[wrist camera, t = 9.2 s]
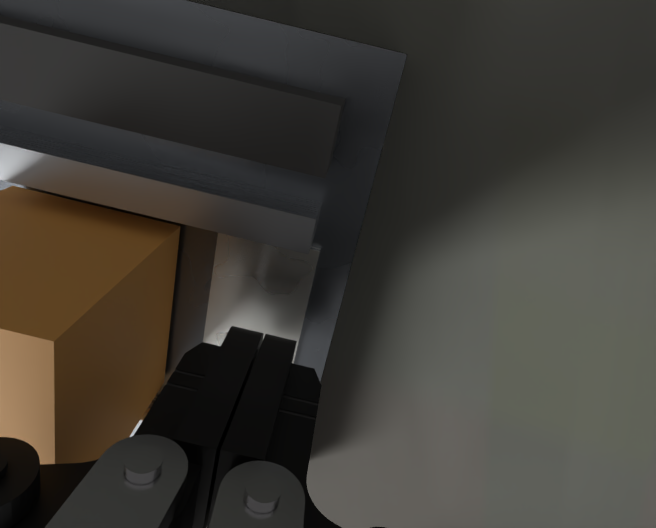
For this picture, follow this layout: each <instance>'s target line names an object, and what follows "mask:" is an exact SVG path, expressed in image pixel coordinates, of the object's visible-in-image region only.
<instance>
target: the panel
mask: <svg viewBox="0 0 656 528" xmlns="http://www.w3.org/2000/svg"><path fill="white" fill-rule="evenodd" d="M0 15H2V16H7V17H11V18H15V19H19V20H23V21H27V22H31V23H35V24H39V25H44V26H48V27H52V28H56V29H60V30H64V31H68V32H72V33H76V34H81V35H85V36H89V37H93V38H97V39H101V40H105V41H109V42H113V43H118V44H122V45H126V46H130V47H134V48H138V49H142V50H146V51H150V52H155V53H159V54H163V55H167V56H171V57H175V58H179V59H183V60H187V61H192V62H196V63H200V64H204V65H208V66H212V67H216V68H220V69H224V70H229V71H233V72H237V73H241V74H245V75H249V76H253V77H257V78H261V79H266V80H270V81H274V82H278V83H282V84H286V85H290V86H294V87H299V88H303V89H307V90H311V91H315V92H319V93H323V94H327V95H331V96H336V97H340V98H344V99H345V104H344V108H343V113H342V117H341V121H340V126H339V130H338V135H337V139H336V144H335V148H334V152H333V157H332V161H331V165H330V168H329V170H328V173H327V175H326V177H325V178H321V177H317V176H313V175H308V174H304V173H300V172H296V171H292V170H288V169H284V168H280V167H275V166H271V165H267V164H263V163H259V162H255V161H251V160H247V159H242V158H238V157H234V156H230V155H226V154H222V153H218V152H214V151H209V150H205V149H201V148H197V147H193V146H189V145H185V144H181V143H176V142H172V141H168V140H164V139H160V138H156V137H152V136H148V135H143V134H139V133H135V132H131V131H127V130H123V129H119V128H115V127H110V126H106V125H102V124H98V123H94V122H90V121H86V120H82V119H77V118H73V117H69V116H65V115H61V114H57V113H53V112H49V111H44V110H40V109H36V108H32V107H28V106H24V105H20V104H16V103H11V102H7V101H3V100H0V191H1V190H3V189H6V188H9V187H11V186H16V187H21V188H25V189H29V190H33V191H37V192H41V193H45V194H50V195H54V196H58V197H62V198H66V199H70V200H74V201H79V202H83V203H87V204H91V205H95V206H99V207H103V208H108V209H112V210H116V211H120V212H124V213H128V214H132V215H136V216H141V217H145V218H149V219H153V220H157V221H161V222H165V223H170V224H174V225H178V226H180V236H179V245H178V255H177V264H176V274H175V283H174V293H173V302H172V312H171V321H170V331H169V340H168V350H167V359H166V369H165V378H164V383H163V385H162V386H161V388H160V389H159V391H158V393H157V394H156V396H155V397H154V399H153V400H152V402H151V404H150V405H149V407H148V408H147V410H146V411H145V413H144V415H143V416H142V418H141V419H140V421H139V422H138V424H137V426H136V427H135V429H134V430H133V432H132V433H131V435H130V437H132V436H134V434H135V432H136V431H137V429H138V428H139V426H140V424H141V423H142V421H143V420H144V418H145V416H146V415H147V413H148V412H149V410H150V408H151V407H152V405H153V404H154V402H155V400H156V399H157V397H158V396H159V394H160V392H161V391H162V389H163V387H164V386H165V385H166V384H167V381H168V379H169V378H170V376H171V375H172V373H173V372H174V371H175V368H176V367H177V365H178V363H179V362H180V360H181V359H182V357H183V355H184V354H185V353H186V352H187V351H189V350H191V349H192V348H194V347H195V346H197V345H199V344H200V343H202V342H205V343H209V344H213V345H217V346H221V345H222V343H223V341H224V339H225V337H226V335H227V333H228V331H229V329H230V327H231V326H235V327H239V328H244V329H248V330H252V331H256V332H260V333H263V334H264V335H263V339H264V336H265V334H269V335H273V336H278V337H282V338H286V339H290V340H294V341H297V343H296V348H295V352H294V357H293V361H292V363H293V364H297V365H302V366H306V367H310V368H314V369H315V371H316V374H317V376H318V378H319V381H321V377H322V374H323V370H324V366H325V362H326V359H327V355H328V351H329V347H330V343H331V340H332V336H333V332H334V328H335V325H336V321H337V317H338V313H339V310H340V306H341V302H342V298H343V294H344V291H345V287H346V283H347V279H348V276H349V272H350V268H351V264H352V261H353V257H354V253H355V249H356V245H357V242H358V238H359V234H360V230H361V227H362V223H363V219H364V215H365V211H366V208H367V204H368V200H369V196H370V193H371V189H372V185H373V181H374V178H375V174H376V170H377V166H378V162H379V159H380V155H381V151H382V147H383V144H384V140H385V136H386V132H387V129H388V125H389V121H390V117H391V113H392V110H393V106H394V102H395V98H396V95H397V91H398V87H399V83H400V80H401V76H402V72H403V68H404V64H405V61H406V57H407V54H404V53H401V52H397V51H393V50H389V49H385V48H380V47H376V46H372V45H368V44H364V43H360V42H356V41H352V40H348V39H344V38H339V37H335V36H331V35H327V34H323V33H319V32H315V31H311V30H307V29H303V28H298V27H294V26H290V25H286V24H282V23H278V22H274V21H270V20H266V19H261V18H257V17H253V16H249V15H245V14H241V13H237V12H233V11H229V10H225V9H220V8H216V7H212V6H208V5H204V4H200V3H196V2H192V1H188V0H0Z"/></svg>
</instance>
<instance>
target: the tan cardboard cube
mask: <svg viewBox="0 0 656 528" xmlns="http://www.w3.org/2000/svg"><path fill="white" fill-rule="evenodd" d="M179 236H180V226H178V225H174V224H170V223H165V222H161V221H157V220H153V219H149V218H145V217H141V216H136V215H132V214H128V213H124V212H120V211H116V210H112V209H108V208H103V207H99V206H95V205H91V204H87V203H83V202H79V201H74V200H70V199H66V198H62V197H58V196H54V195H50V194H45V193H41V192H37V191H33V190H29V189H25V188H21V187H16V186H11V187H9V188H6V189H3V190H1V191H0V437H10V438H16V439H19V440H23V441H25V442H27V443H29V444H30V445H31V446H32V447H34V449H35V450H36V451H37V453H38V455H39V460H40V464H64V463H82V462H89V461H94V460H97V459H99V458H100V457H101V455H102V454H103V453H104V452H105V451H106V450H107V449H108V448H109V447H111V446H112V445H113V444H115V443H117V442H118V441H120V440H123V439H125V438H128V437H130V435H131V433H132V432H133V430H134V429H135V427H136V426H137V424H138V422H139V421H140V419H141V418H142V416H143V415H144V413H145V411H146V410H147V408H148V407H149V405H150V404H151V402H152V400H153V399H154V397H155V396H156V394H157V393H158V391H159V389H160V388H161V386H162V385H163V383H164V378H165V369H166V359H167V350H168V340H169V331H170V321H171V312H172V302H173V293H174V283H175V274H176V264H177V255H178V245H179Z"/></svg>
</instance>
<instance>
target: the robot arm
mask: <svg viewBox="0 0 656 528" xmlns="http://www.w3.org/2000/svg"><path fill="white" fill-rule="evenodd" d="M263 335H264V334H263V333H260V332H256V331H252V330H248V329H244V328H239V327H235V326H231V327H230V329H229V331H228V333H227V335H226V337H225V339H224V341H223V343H222V345H221V346H217V345H213V344H209V343H205V342H202V343H200V344H199V345H197V346H195V347H194V348H192V349H191V350H189V351H187V352H186V353H185V354H184V355H183V357H182V359H181V360H180V362H179V363H178V365H177V367H176V368H175V371H174V372H173V373H172V375H171V376H170V378H169V379H168V381H167V384H166V385H165V386H164V387H163V389H162V391H161V392H160V394H159V396H158V397H157V399H156V400H155V402H154V404H153V405H152V407H151V408H150V410H149V412H148V413H147V415H146V416H145V418H144V420H143V421H142V423H141V424H140V426H139V428H138V429H137V431H136V432H135V434H134V436H132V437H128V438H125V439H123V440H120V441H118V442H117V443H115V444H113V445H112V446H111V447H109V448H108V449H107V450H106V451H105V452H104V453H103V454H102V455H101V457H100V458H99V459H97V460H94V461H89V462H82V463H64V464H40V460H39V455H38V453H37V451H36V450H35V449H34V447H32V446H31V445H30V444H29V443H27V442H25V441H23V440H19V439H16V438H10V437H0V528H206V527H207V528H341V527H340V526H338V525H336V524H334V523H333V522H331V521H330V520H328V519H327V518H326V517H325V516H324V515H323V514H321V512H320V511H319V510H318V509H317V508H316V506H315V505H314V503H313V502H312V500H311V498H310V496H309V493H308V490H307V484H306V477H307V470H308V464H309V458H310V452H311V445H312V439H313V433H314V427H315V420H316V415H317V409H318V403H319V397H320V390H321V383H320V381H319V378H318V376H317V374H316V371H315V369H314V368H310V367H306V366H302V365H297V364H293V363H292V361H293V357H294V352H295V348H296V343H297V341H294V340H290V339H286V338H282V337H278V336H273V335H269V334H265V336H264V339H263ZM372 528H385V527H372Z"/></svg>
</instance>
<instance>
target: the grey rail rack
mask: <svg viewBox="0 0 656 528" xmlns="http://www.w3.org/2000/svg"><path fill="white" fill-rule="evenodd" d="M0 100H3V101H7V102H11V103H16V104H20V105H24V106H28V107H32V108H36V109H40V110H44V111H49V112H53V113H57V114H61V115H65V116H69V117H73V118H77V119H82V120H86V121H90V122H94V123H98V124H102V125H106V126H110V127H115V128H119V129H123V130H127V131H131V132H135V133H139V134H143V135H148V136H152V137H156V138H160V139H164V140H168V141H172V142H176V143H181V144H185V145H189V146H193V147H197V148H201V149H205V150H209V151H214V152H218V153H222V154H226V155H230V156H234V157H238V158H242V159H247V160H251V161H255V162H259V163H263V164H267V165H271V166H275V167H280V168H284V169H288V170H292V171H296V172H300V173H304V174H308V175H313V176H317V177H321V178H325V177H326V175H327V173H328V170H329V168H330V165H331V161H332V157H333V152H334V148H335V144H336V139H337V135H338V130H339V126H340V121H341V117H342V113H343V108H344V104H345V99H344V98H340V97H336V96H331V95H327V94H323V93H319V92H315V91H311V90H307V89H303V88H299V87H294V86H290V85H286V84H282V83H278V82H274V81H270V80H266V79H261V78H257V77H253V76H249V75H245V74H241V73H237V72H233V71H229V70H224V69H220V68H216V67H212V66H208V65H204V64H200V63H196V62H192V61H187V60H183V59H179V58H175V57H171V56H167V55H163V54H159V53H155V52H150V51H146V50H142V49H138V48H134V47H130V46H126V45H122V44H118V43H113V42H109V41H105V40H101V39H97V38H93V37H89V36H85V35H81V34H76V33H72V32H68V31H64V30H60V29H56V28H52V27H48V26H44V25H39V24H35V23H31V22H27V21H23V20H19V19H15V18H11V17H7V16H2V15H0Z"/></svg>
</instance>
